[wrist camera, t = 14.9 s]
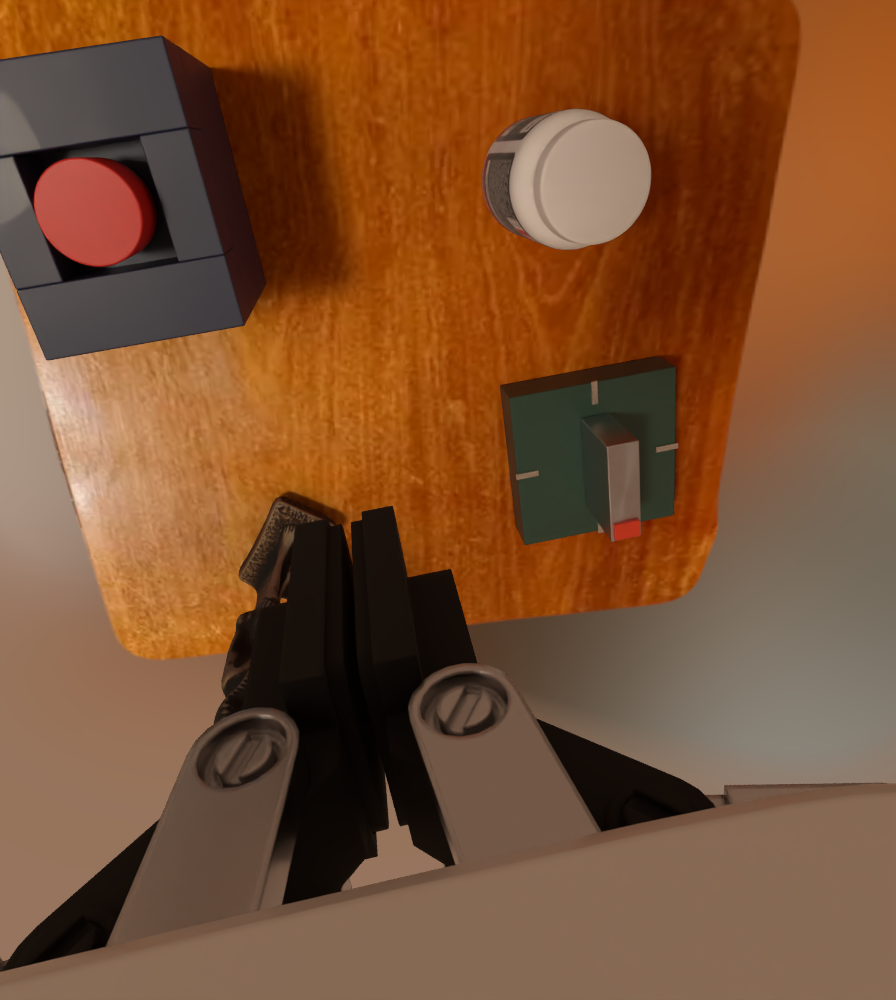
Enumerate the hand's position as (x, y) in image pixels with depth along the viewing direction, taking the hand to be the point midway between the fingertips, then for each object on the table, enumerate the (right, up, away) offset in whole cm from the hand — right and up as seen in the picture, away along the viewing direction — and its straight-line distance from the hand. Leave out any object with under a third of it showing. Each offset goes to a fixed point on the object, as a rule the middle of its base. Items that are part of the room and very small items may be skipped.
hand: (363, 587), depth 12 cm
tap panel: (+10, +5, +32) cm, 34 cm away
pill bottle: (+6, +19, +25) cm, 32 cm away
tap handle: (+11, +4, +30) cm, 32 cm away
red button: (-12, +13, +14) cm, 22 cm away
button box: (-13, +17, +22) cm, 31 cm away
